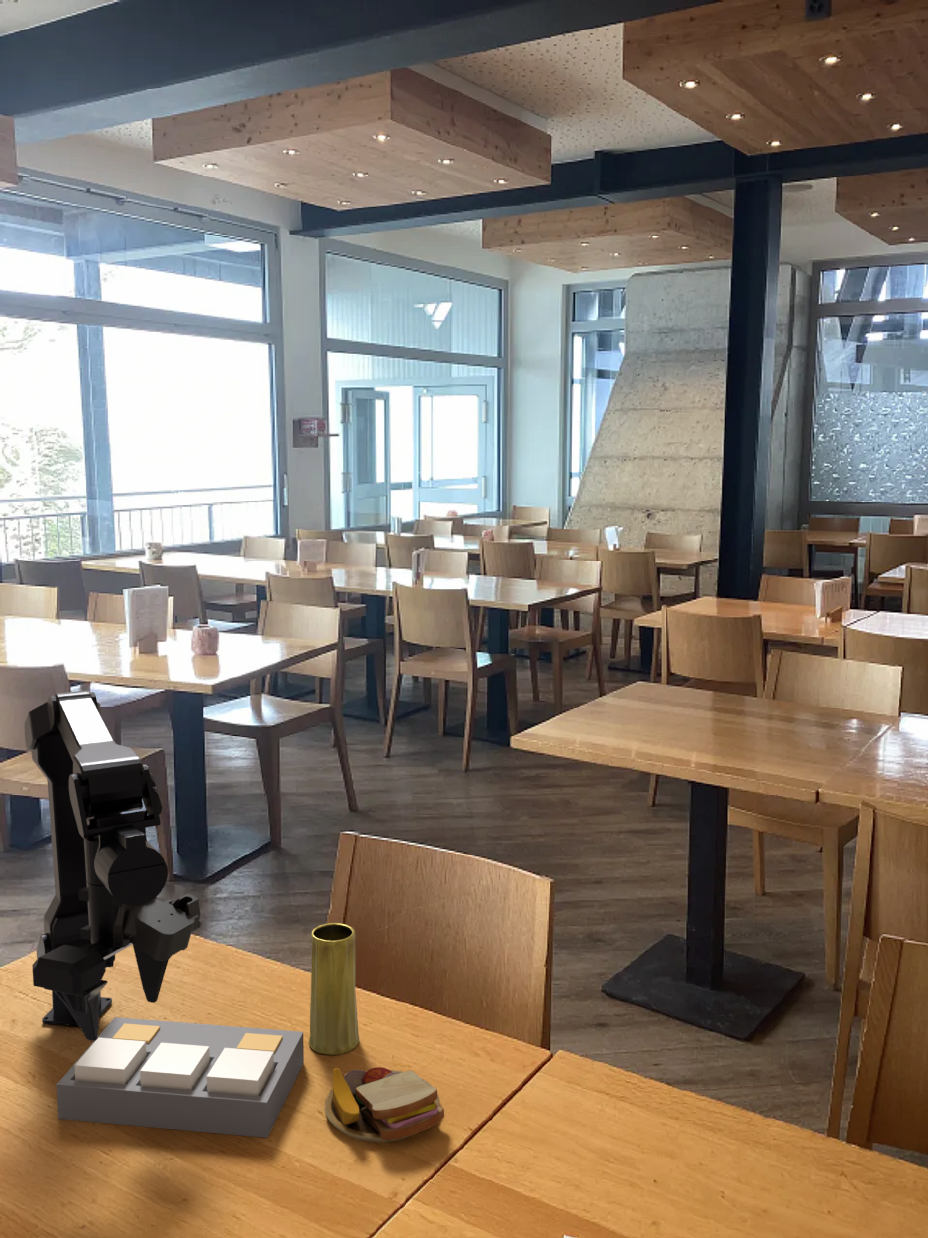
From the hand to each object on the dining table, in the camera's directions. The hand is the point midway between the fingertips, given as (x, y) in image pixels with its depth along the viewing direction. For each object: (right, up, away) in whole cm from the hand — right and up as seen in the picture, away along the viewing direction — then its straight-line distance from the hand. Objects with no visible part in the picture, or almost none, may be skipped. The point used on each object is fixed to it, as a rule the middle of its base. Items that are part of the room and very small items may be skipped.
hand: (123, 1020), depth 112 cm
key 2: (+12, -8, +3) cm, 15 cm away
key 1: (-3, -8, +5) cm, 10 cm away
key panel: (+5, -11, +7) cm, 14 cm away
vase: (+20, -9, +17) cm, 28 cm away
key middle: (+4, -8, +4) cm, 10 cm away
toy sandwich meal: (+28, -12, +4) cm, 30 cm away
